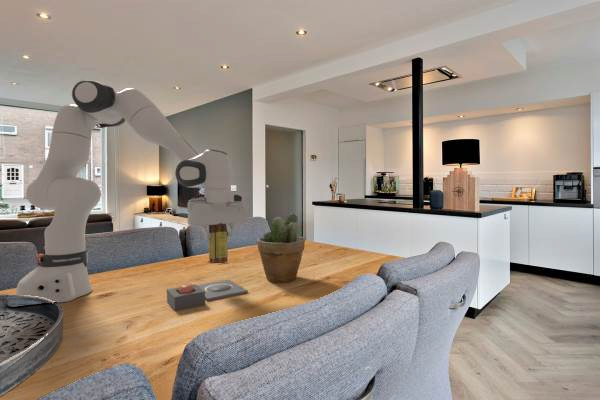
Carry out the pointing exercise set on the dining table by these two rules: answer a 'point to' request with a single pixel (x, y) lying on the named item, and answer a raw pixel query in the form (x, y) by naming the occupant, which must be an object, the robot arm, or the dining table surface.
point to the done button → (185, 288)
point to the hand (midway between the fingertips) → (218, 237)
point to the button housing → (185, 298)
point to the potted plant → (281, 250)
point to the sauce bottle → (218, 243)
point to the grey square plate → (221, 289)
